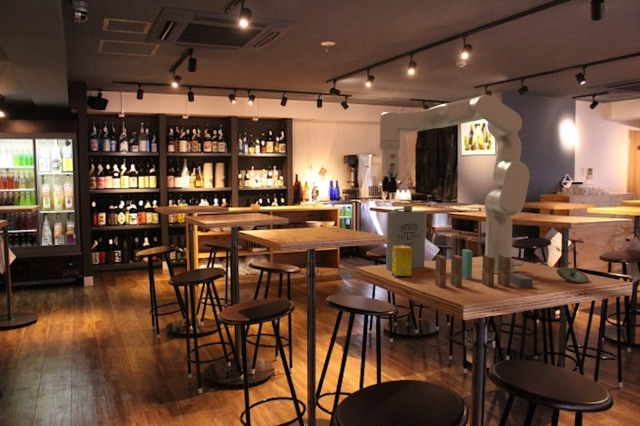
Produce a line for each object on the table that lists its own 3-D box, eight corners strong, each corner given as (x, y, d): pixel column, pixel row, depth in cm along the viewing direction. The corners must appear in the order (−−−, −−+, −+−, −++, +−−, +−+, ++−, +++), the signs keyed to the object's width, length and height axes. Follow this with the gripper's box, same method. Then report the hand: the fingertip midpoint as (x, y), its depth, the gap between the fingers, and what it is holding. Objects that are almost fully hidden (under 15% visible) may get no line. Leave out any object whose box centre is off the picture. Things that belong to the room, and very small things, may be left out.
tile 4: (487, 283, 181) (488, 254, 180) (493, 287, 176) (494, 257, 175) (481, 283, 181) (482, 254, 180) (487, 287, 176) (488, 257, 175)
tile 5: (503, 283, 181) (504, 254, 180) (509, 286, 176) (510, 257, 175) (497, 283, 181) (498, 254, 180) (503, 286, 176) (504, 257, 175)
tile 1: (440, 284, 179) (441, 255, 178) (445, 287, 174) (446, 257, 173) (434, 284, 179) (435, 255, 178) (439, 287, 174) (440, 257, 173)
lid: (573, 277, 193) (574, 263, 193) (595, 282, 184) (595, 268, 184) (549, 278, 190) (550, 265, 190) (570, 284, 181) (571, 270, 180)
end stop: (519, 282, 184) (520, 273, 184) (532, 287, 175) (532, 278, 175) (508, 282, 184) (509, 273, 183) (521, 287, 175) (521, 278, 174)
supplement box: (391, 274, 195) (392, 245, 194) (407, 274, 196) (407, 245, 195) (395, 278, 189) (395, 247, 189) (411, 277, 190) (412, 247, 189)
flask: (391, 270, 203) (392, 206, 201) (384, 268, 207) (385, 205, 205) (427, 267, 211) (428, 205, 209) (420, 265, 215) (421, 204, 213)
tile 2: (456, 284, 180) (457, 255, 179) (461, 287, 175) (462, 257, 174) (450, 284, 180) (451, 255, 179) (455, 287, 175) (456, 257, 174)
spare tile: (466, 276, 193) (467, 249, 193) (471, 279, 188) (472, 251, 188) (461, 276, 193) (462, 249, 192) (466, 279, 188) (467, 251, 187)
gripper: (405, 145, 188) (404, 193, 189) (394, 147, 205) (393, 191, 206) (384, 144, 187) (384, 193, 188) (375, 146, 204) (374, 191, 205)
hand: (389, 192), depth 197 cm, fingers open, 9 cm apart
